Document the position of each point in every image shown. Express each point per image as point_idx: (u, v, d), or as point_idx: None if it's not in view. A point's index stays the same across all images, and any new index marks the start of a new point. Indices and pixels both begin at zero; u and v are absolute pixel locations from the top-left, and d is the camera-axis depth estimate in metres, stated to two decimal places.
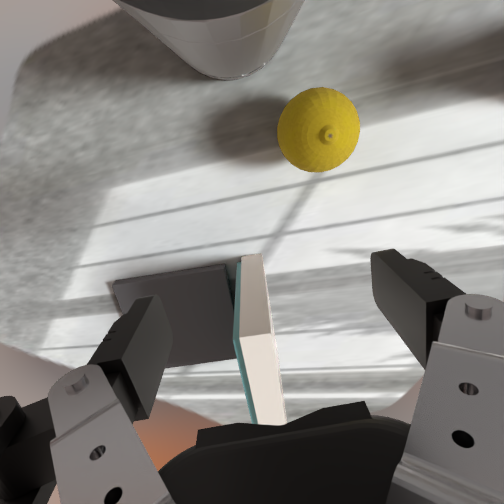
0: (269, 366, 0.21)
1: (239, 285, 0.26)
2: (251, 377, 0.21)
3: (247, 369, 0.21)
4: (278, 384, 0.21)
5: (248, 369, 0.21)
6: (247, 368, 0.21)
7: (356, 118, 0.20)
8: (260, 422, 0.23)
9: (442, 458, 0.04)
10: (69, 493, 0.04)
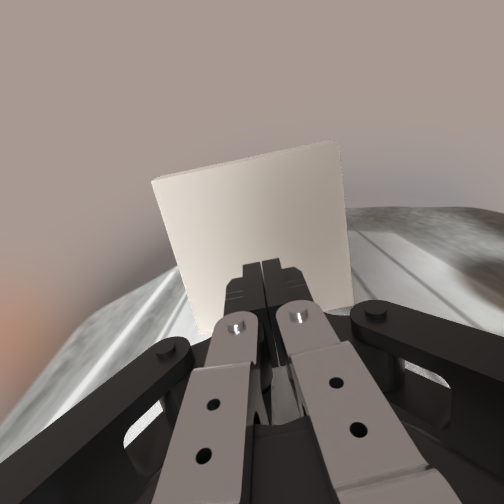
0: (295, 149, 0.20)
1: None
2: (281, 150, 0.21)
3: (291, 148, 0.21)
4: (269, 155, 0.20)
5: (291, 148, 0.21)
6: None
7: None
8: (217, 164, 0.21)
9: (357, 458, 0.04)
10: (182, 425, 0.05)
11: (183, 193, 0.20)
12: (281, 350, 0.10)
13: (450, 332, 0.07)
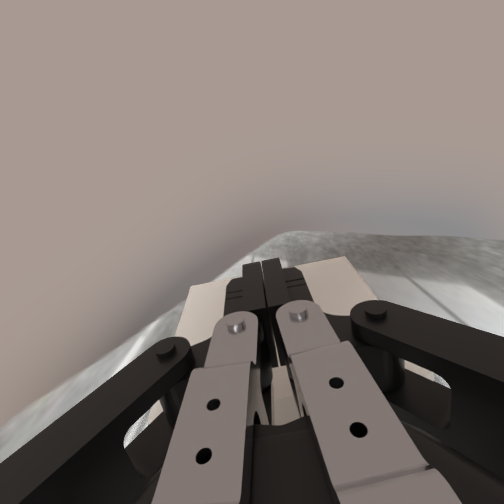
0: None
1: None
2: None
3: None
4: None
5: None
6: None
7: None
8: None
9: (357, 459, 0.04)
10: (182, 425, 0.05)
11: (212, 288, 0.23)
12: (281, 350, 0.10)
13: (450, 332, 0.07)
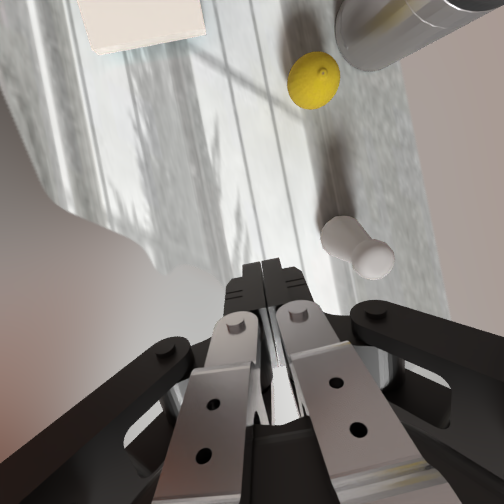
0: None
1: None
2: None
3: None
4: None
5: None
6: None
7: (326, 96, 0.33)
8: None
9: (357, 459, 0.04)
10: (182, 425, 0.05)
11: None
12: (281, 350, 0.10)
13: (450, 332, 0.07)
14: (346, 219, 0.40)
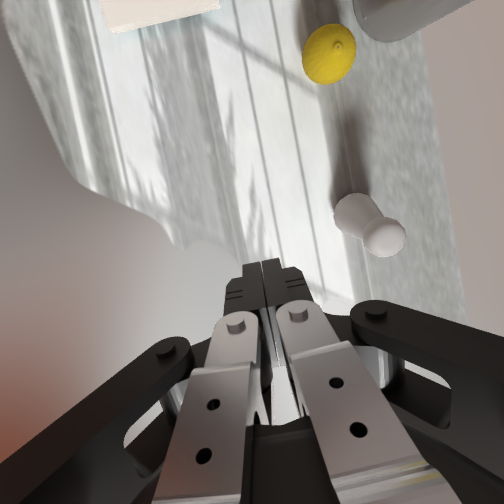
0: None
1: None
2: None
3: None
4: None
5: None
6: None
7: (341, 71, 0.33)
8: None
9: (357, 458, 0.04)
10: (182, 425, 0.05)
11: None
12: (281, 350, 0.10)
13: (450, 332, 0.07)
14: (359, 197, 0.40)
